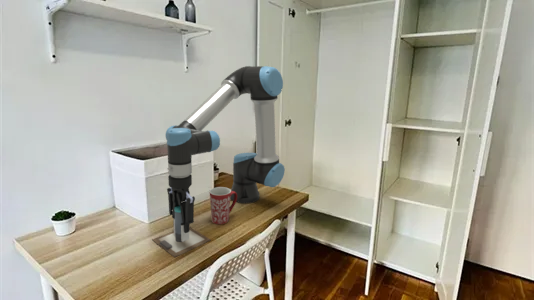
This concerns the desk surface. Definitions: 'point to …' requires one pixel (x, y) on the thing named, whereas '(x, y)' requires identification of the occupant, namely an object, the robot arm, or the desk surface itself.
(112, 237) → the desk surface
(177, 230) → the grey cylinder
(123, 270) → the desk surface
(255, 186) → the robot arm
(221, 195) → the mug
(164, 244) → the clipboard
